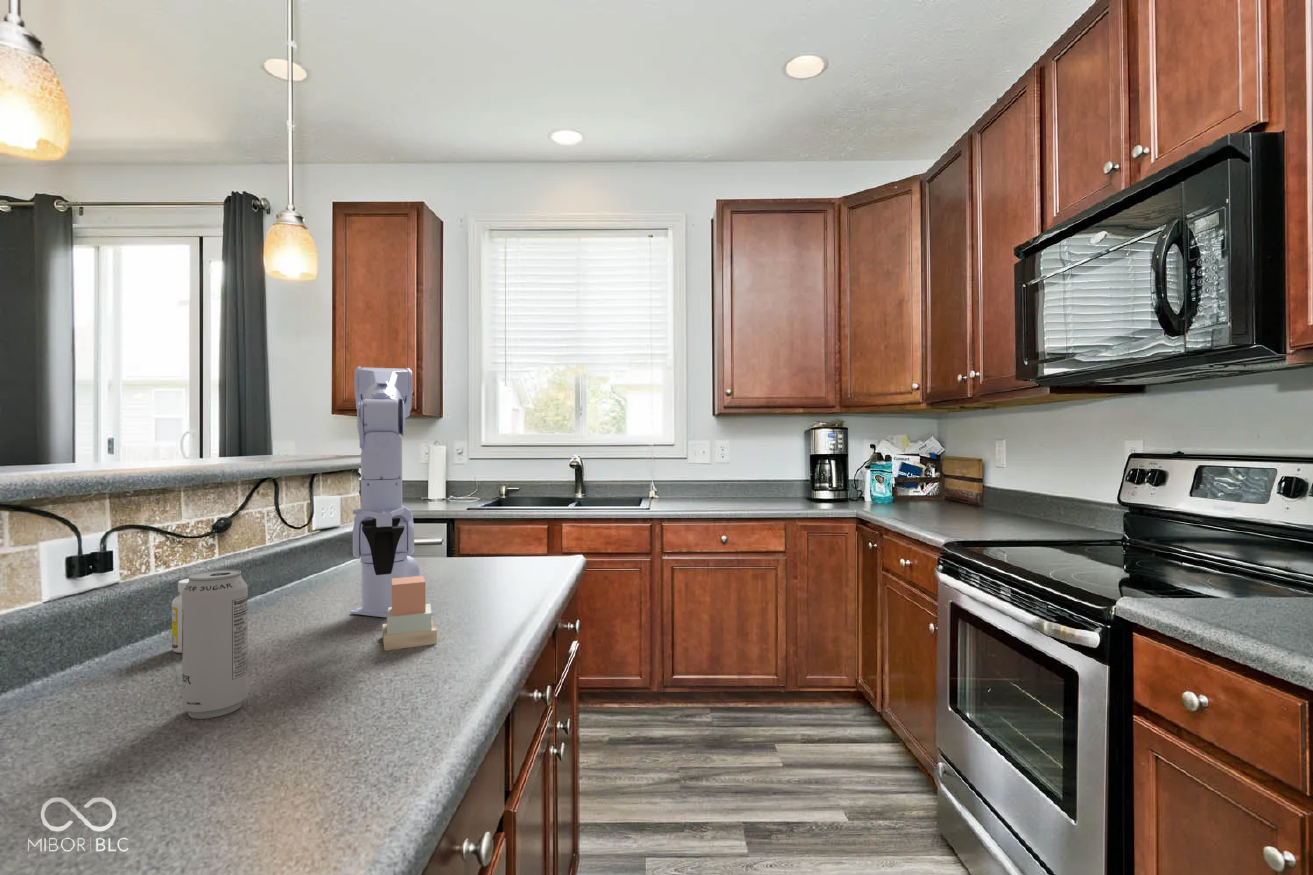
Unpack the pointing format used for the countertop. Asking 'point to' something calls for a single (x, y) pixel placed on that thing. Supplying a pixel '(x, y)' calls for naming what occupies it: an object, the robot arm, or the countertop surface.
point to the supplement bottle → (177, 618)
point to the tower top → (409, 622)
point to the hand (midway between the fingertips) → (382, 569)
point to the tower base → (409, 638)
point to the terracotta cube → (408, 595)
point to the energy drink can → (214, 643)
